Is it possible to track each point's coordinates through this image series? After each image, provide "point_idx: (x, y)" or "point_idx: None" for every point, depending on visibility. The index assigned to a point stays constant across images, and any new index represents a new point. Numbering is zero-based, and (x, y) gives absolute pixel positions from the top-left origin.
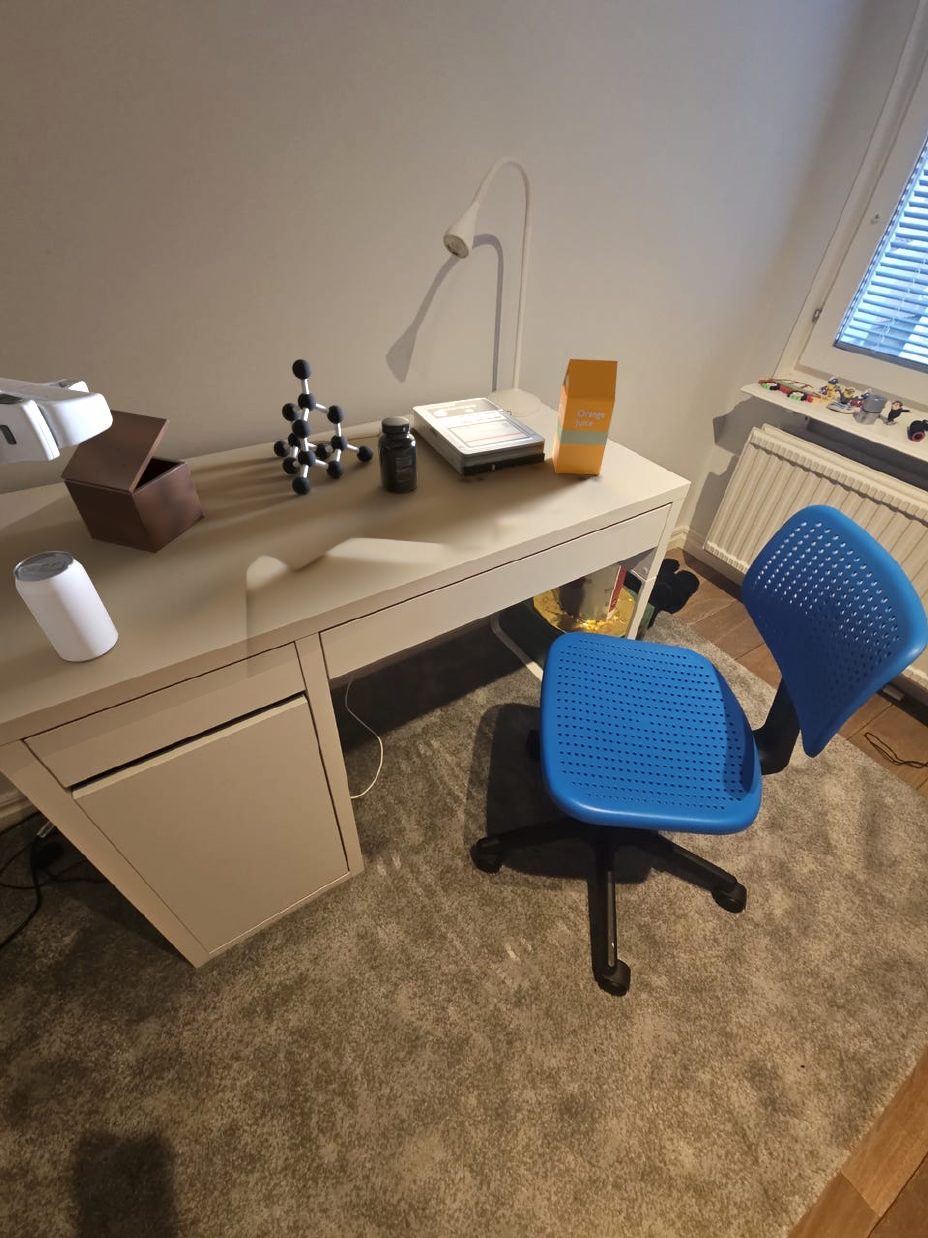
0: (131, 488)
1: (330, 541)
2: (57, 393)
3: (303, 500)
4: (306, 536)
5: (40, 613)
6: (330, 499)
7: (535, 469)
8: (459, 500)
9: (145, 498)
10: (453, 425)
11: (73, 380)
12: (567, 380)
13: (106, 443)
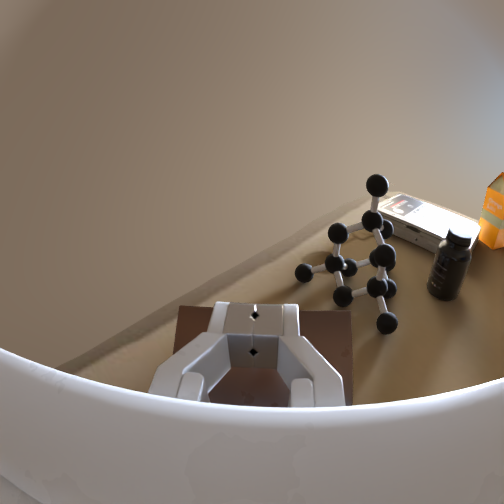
0: None
1: None
2: (462, 461)
3: (395, 340)
4: None
5: None
6: (416, 329)
7: (482, 249)
8: (489, 293)
9: None
10: (422, 221)
11: (257, 305)
12: (493, 185)
13: (235, 393)
